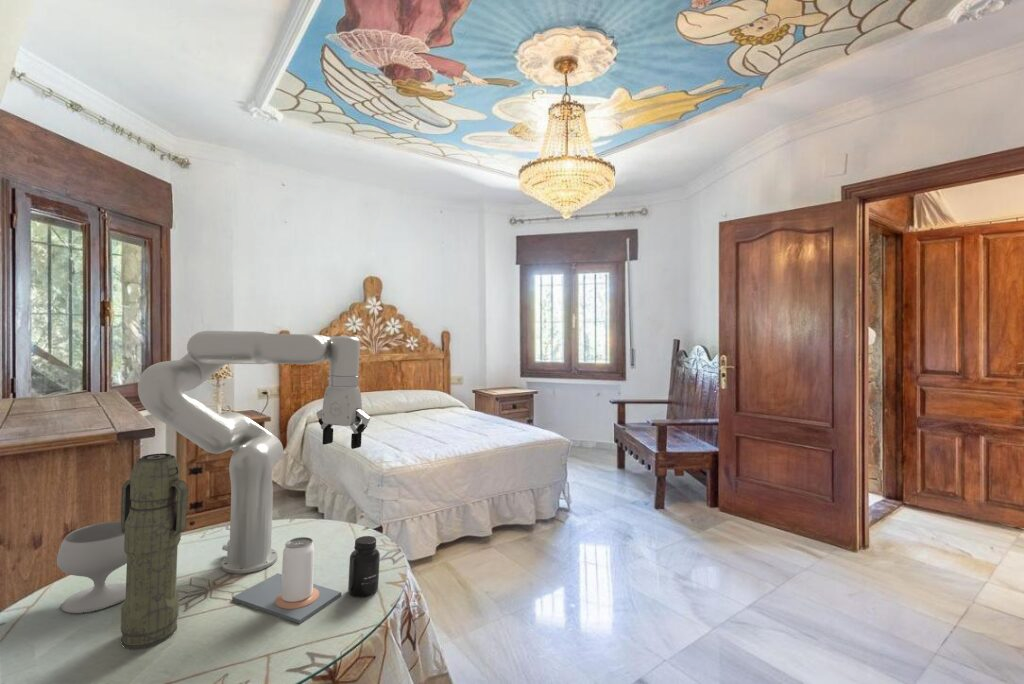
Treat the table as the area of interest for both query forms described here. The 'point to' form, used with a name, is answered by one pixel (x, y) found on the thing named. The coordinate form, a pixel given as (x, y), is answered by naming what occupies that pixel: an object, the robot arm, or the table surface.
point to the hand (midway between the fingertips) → (341, 445)
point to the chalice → (94, 565)
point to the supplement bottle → (364, 567)
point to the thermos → (152, 549)
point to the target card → (270, 601)
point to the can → (297, 569)
